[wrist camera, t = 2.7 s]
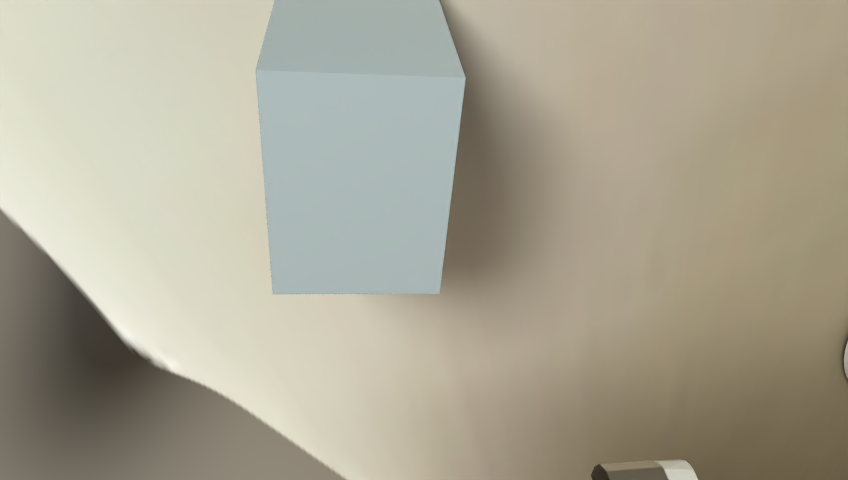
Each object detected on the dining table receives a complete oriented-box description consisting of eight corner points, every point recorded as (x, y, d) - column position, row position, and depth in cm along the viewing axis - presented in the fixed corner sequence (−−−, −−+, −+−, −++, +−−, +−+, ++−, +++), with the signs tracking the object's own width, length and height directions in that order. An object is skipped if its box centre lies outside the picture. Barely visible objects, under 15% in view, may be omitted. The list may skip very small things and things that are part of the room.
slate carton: (432, -19, 23) (465, 77, 16) (417, 160, 27) (439, 293, 20) (282, -27, 22) (255, 70, 16) (290, 158, 26) (272, 294, 20)
